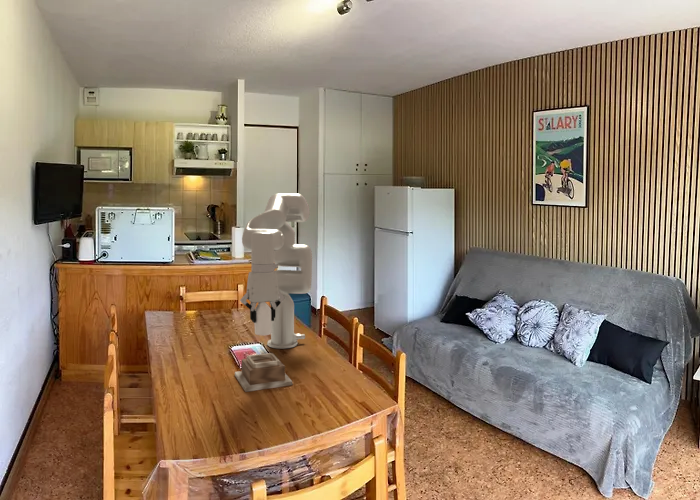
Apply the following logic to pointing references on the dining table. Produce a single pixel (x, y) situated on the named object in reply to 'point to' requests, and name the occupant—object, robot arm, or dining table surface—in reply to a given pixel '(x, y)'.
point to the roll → (263, 319)
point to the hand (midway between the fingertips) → (262, 320)
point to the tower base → (262, 373)
